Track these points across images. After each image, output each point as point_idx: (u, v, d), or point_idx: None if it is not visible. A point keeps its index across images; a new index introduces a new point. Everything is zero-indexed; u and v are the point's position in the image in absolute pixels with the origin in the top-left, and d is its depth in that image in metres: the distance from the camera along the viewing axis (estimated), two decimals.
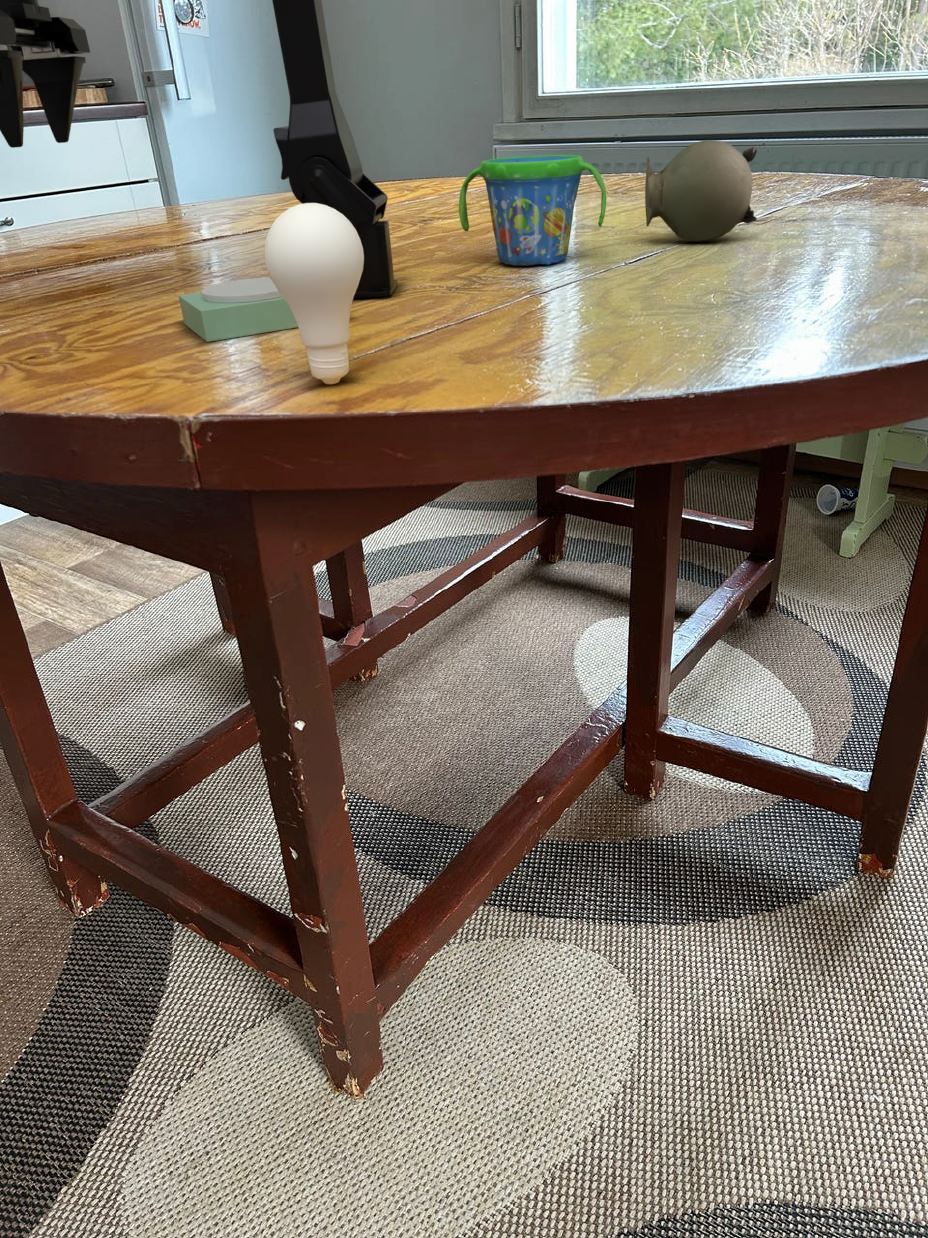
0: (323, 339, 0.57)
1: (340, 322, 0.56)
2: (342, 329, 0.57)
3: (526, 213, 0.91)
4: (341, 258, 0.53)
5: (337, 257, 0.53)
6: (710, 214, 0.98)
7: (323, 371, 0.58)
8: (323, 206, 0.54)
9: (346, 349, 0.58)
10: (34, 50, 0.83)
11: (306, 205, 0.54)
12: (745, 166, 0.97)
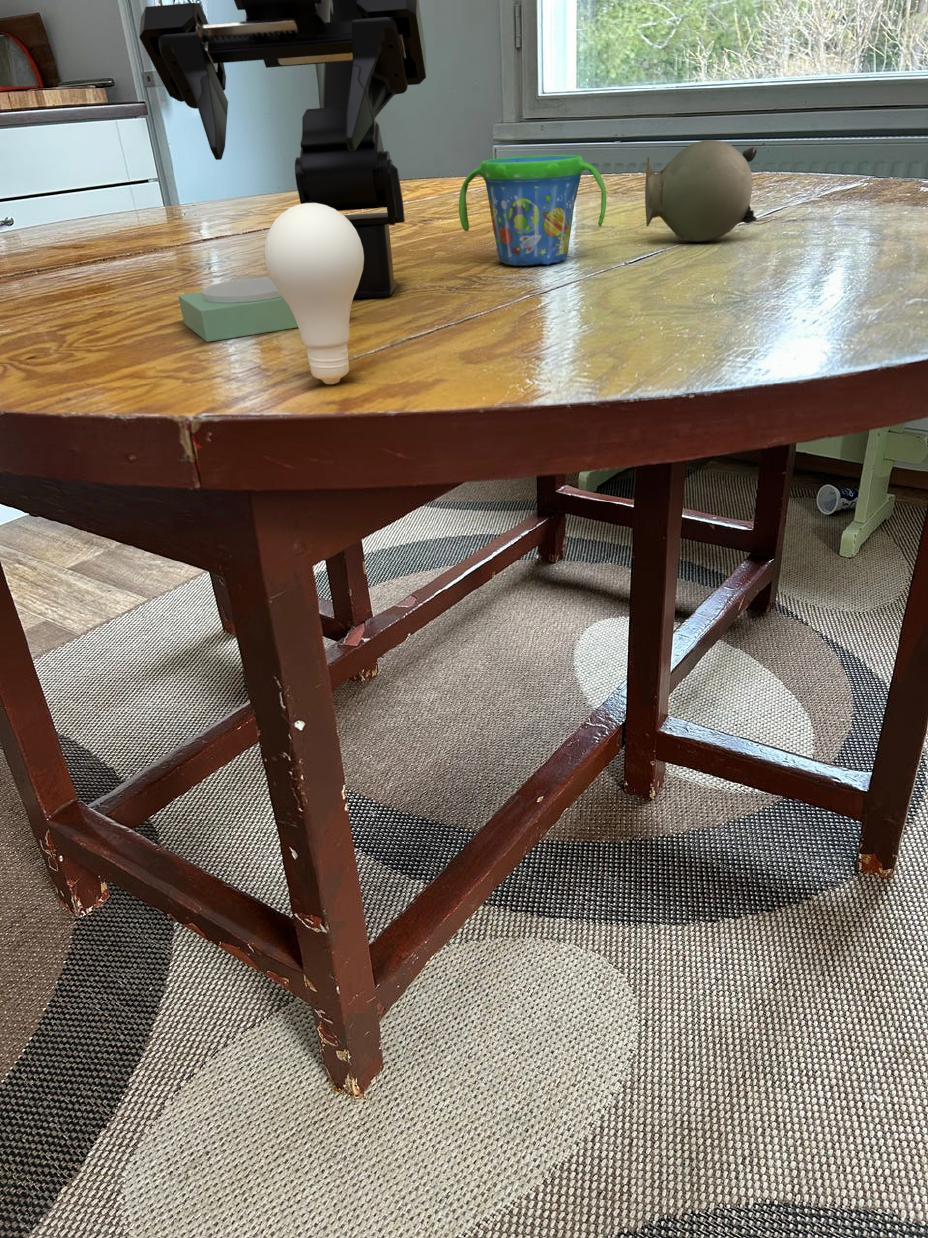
0: (323, 339, 0.57)
1: (340, 322, 0.56)
2: (342, 329, 0.57)
3: (526, 213, 0.91)
4: (341, 258, 0.53)
5: (337, 257, 0.53)
6: (710, 214, 0.98)
7: (323, 371, 0.58)
8: (323, 206, 0.54)
9: (346, 349, 0.58)
10: (208, 51, 0.61)
11: (306, 205, 0.54)
12: (745, 166, 0.97)
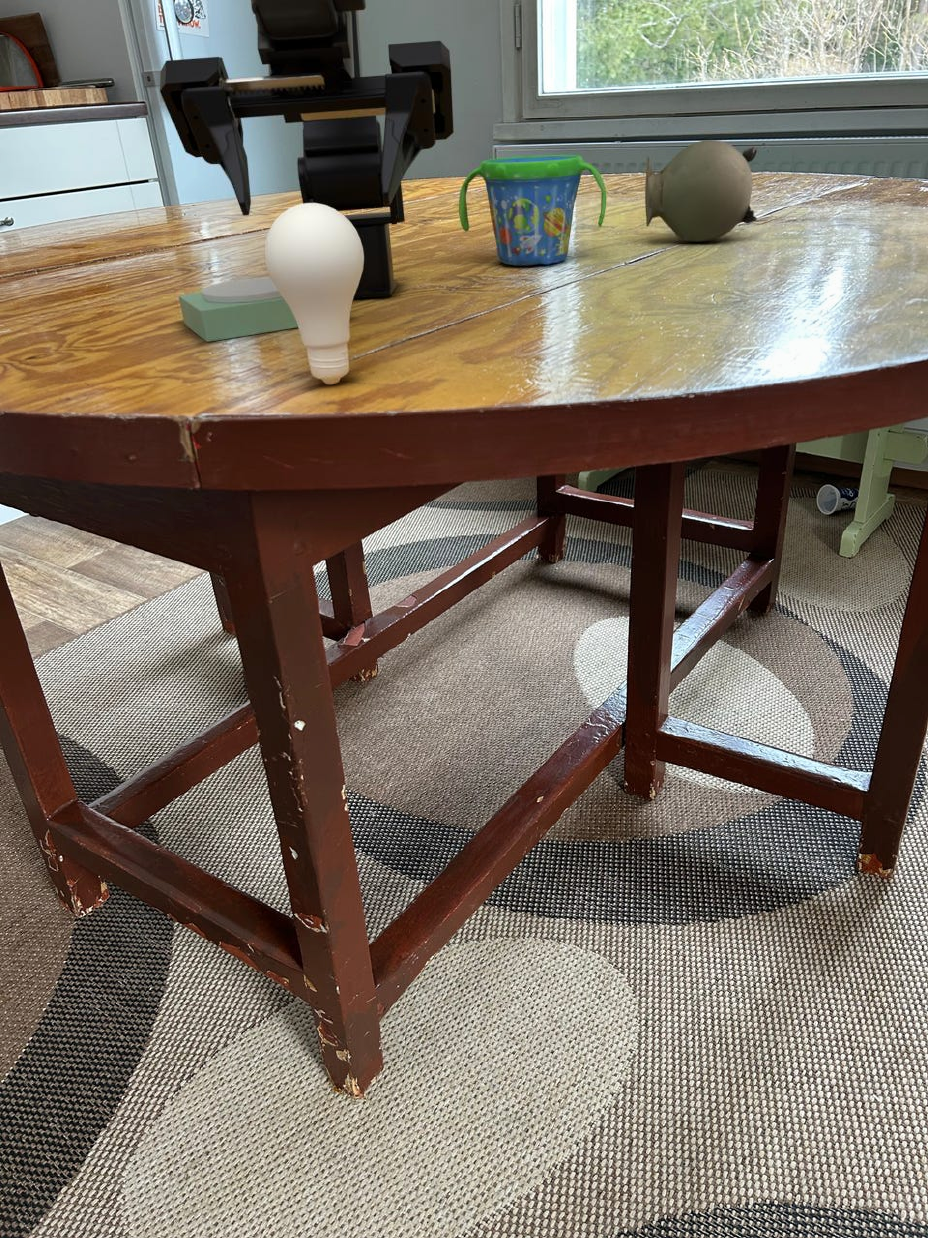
0: (323, 339, 0.57)
1: (340, 322, 0.56)
2: (342, 329, 0.57)
3: (526, 213, 0.91)
4: (341, 258, 0.53)
5: (337, 257, 0.53)
6: (710, 214, 0.98)
7: (323, 371, 0.58)
8: (323, 206, 0.54)
9: (346, 349, 0.58)
10: (231, 106, 0.59)
11: (306, 205, 0.54)
12: (745, 166, 0.97)
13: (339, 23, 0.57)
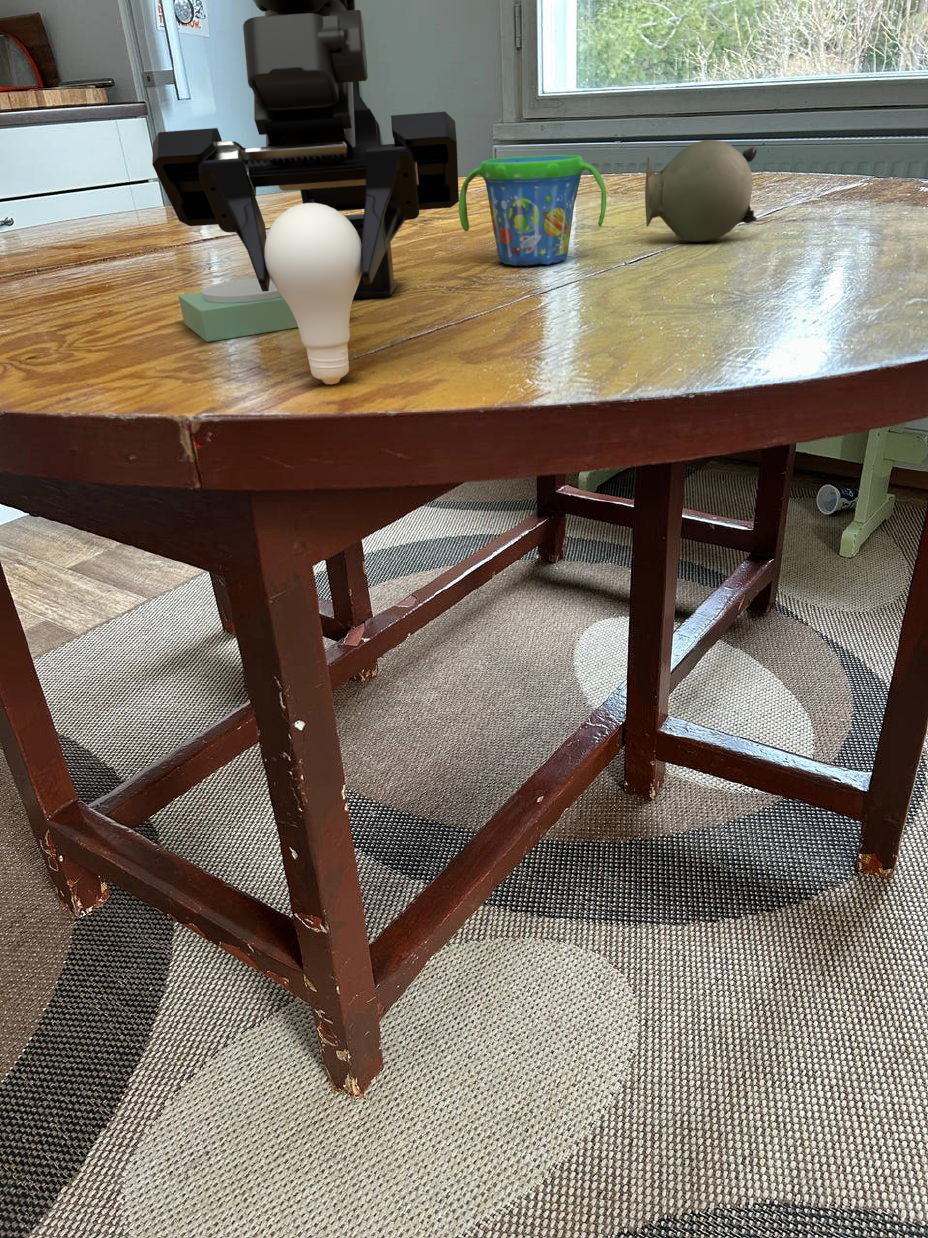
0: (323, 339, 0.57)
1: (340, 322, 0.56)
2: (342, 329, 0.57)
3: (526, 213, 0.91)
4: (341, 258, 0.53)
5: (337, 257, 0.53)
6: (710, 214, 0.98)
7: (323, 371, 0.58)
8: (323, 206, 0.54)
9: (346, 349, 0.58)
10: (249, 175, 0.56)
11: (306, 205, 0.54)
12: (745, 166, 0.97)
13: (340, 93, 0.54)
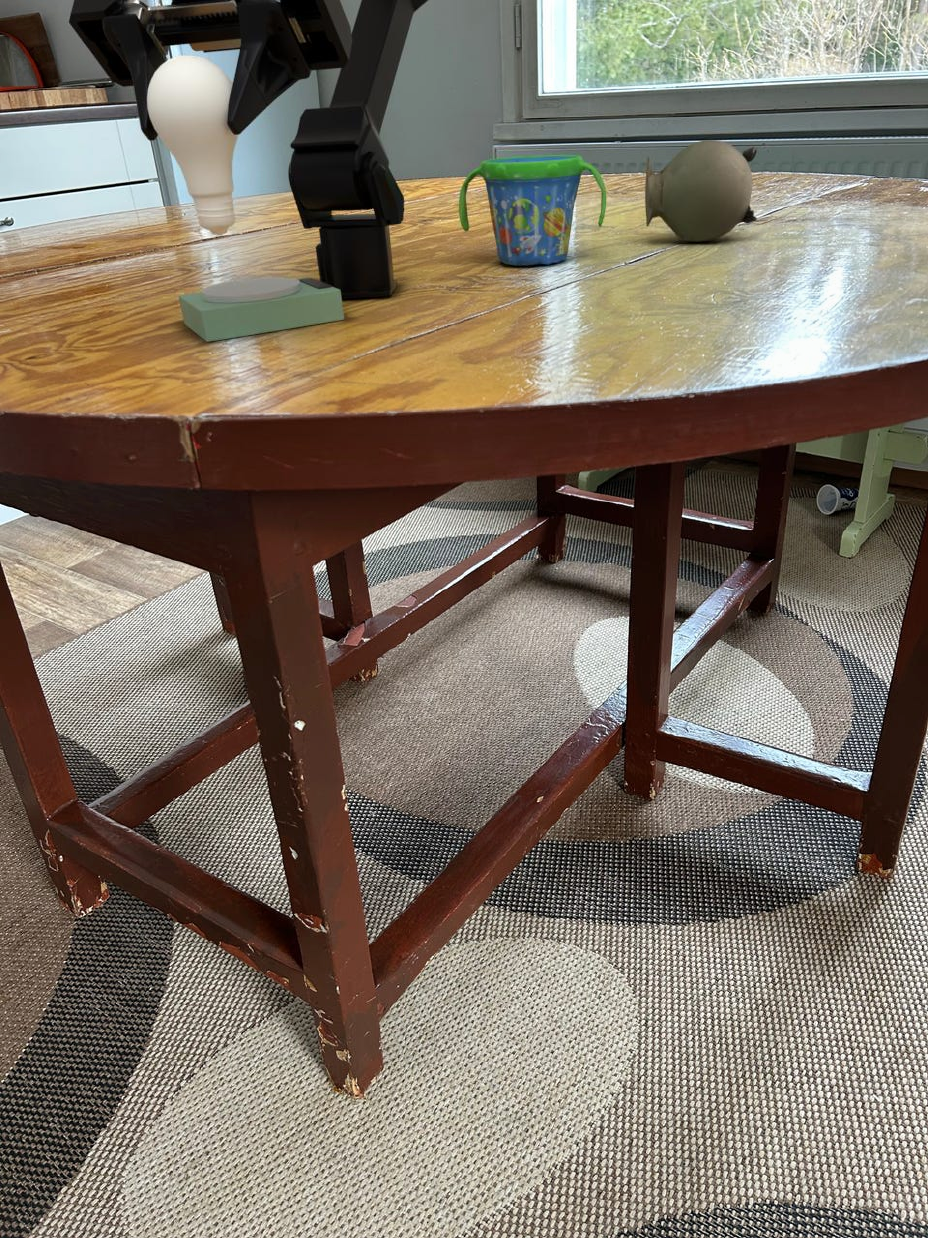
0: (200, 188, 0.61)
1: (215, 172, 0.61)
2: (218, 179, 0.61)
3: (526, 213, 0.91)
4: (202, 105, 0.58)
5: (198, 105, 0.58)
6: (710, 214, 0.98)
7: (205, 220, 0.63)
8: (195, 57, 0.58)
9: (227, 200, 0.63)
10: (154, 33, 0.62)
11: (180, 56, 0.58)
12: (745, 166, 0.97)
13: None
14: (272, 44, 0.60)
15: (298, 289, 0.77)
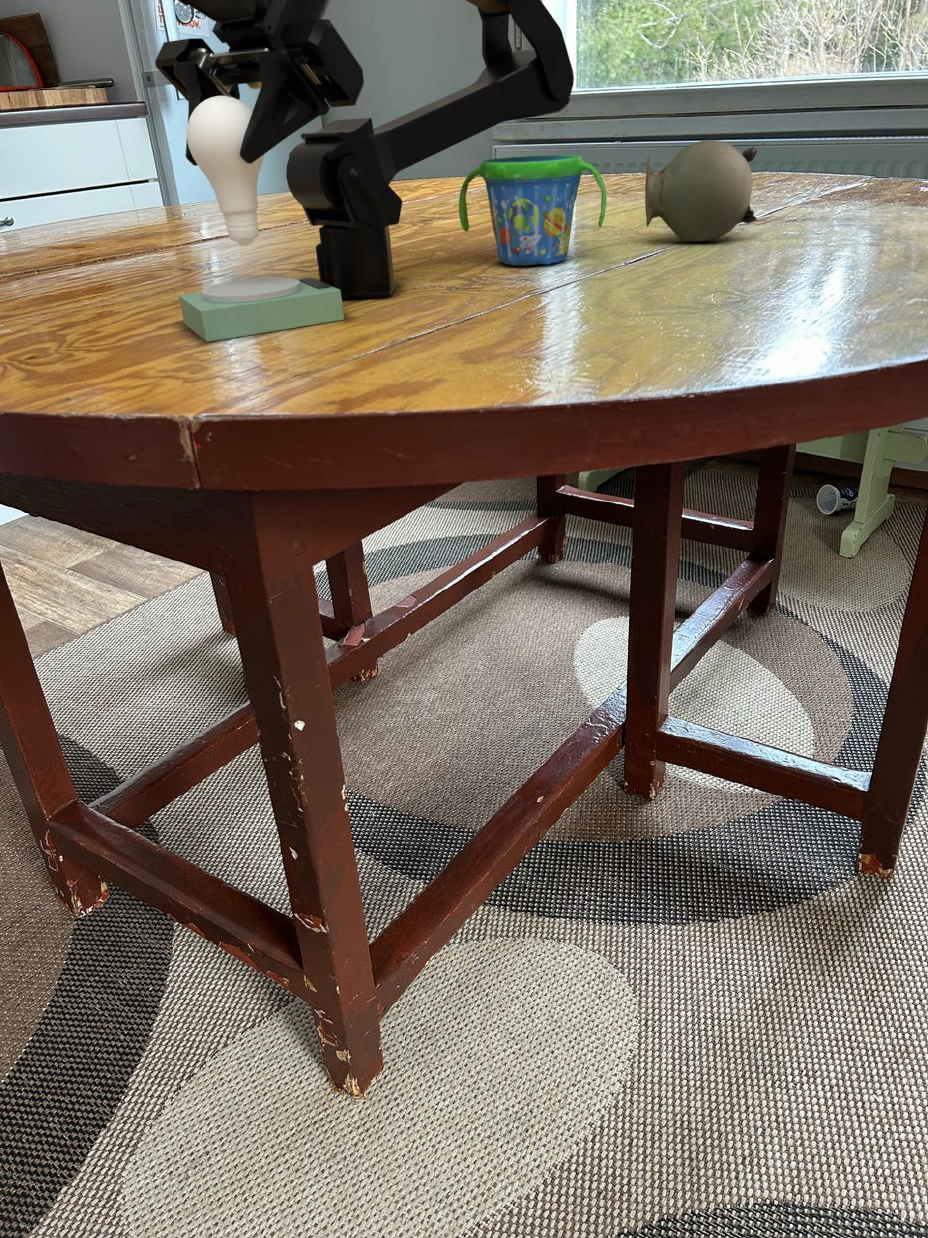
0: (224, 206, 0.73)
1: (235, 194, 0.72)
2: (238, 199, 0.72)
3: (526, 213, 0.91)
4: (219, 139, 0.69)
5: (216, 139, 0.69)
6: (710, 214, 0.98)
7: (230, 233, 0.74)
8: (223, 98, 0.69)
9: (248, 217, 0.74)
10: (215, 75, 0.74)
11: (213, 97, 0.70)
12: (745, 166, 0.97)
13: (260, 7, 0.68)
14: (291, 86, 0.69)
15: (298, 289, 0.77)
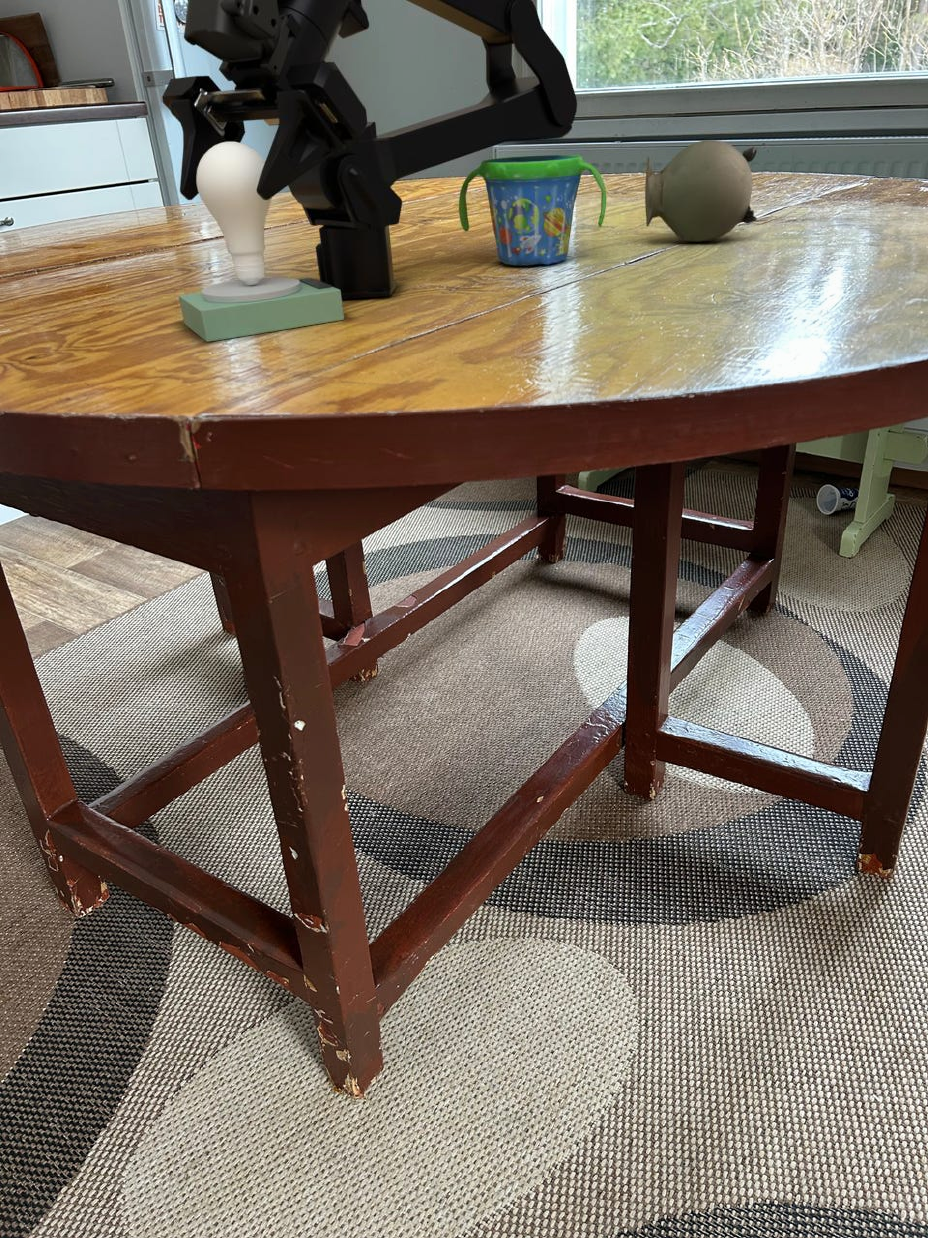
0: (232, 247, 0.75)
1: (243, 236, 0.74)
2: (246, 241, 0.74)
3: (526, 213, 0.91)
4: (228, 184, 0.71)
5: (225, 184, 0.71)
6: (710, 214, 0.98)
7: (237, 273, 0.76)
8: (233, 144, 0.71)
9: (255, 258, 0.75)
10: (210, 113, 0.76)
11: (222, 143, 0.71)
12: (745, 166, 0.97)
13: (266, 48, 0.70)
14: (308, 124, 0.70)
15: (298, 289, 0.77)
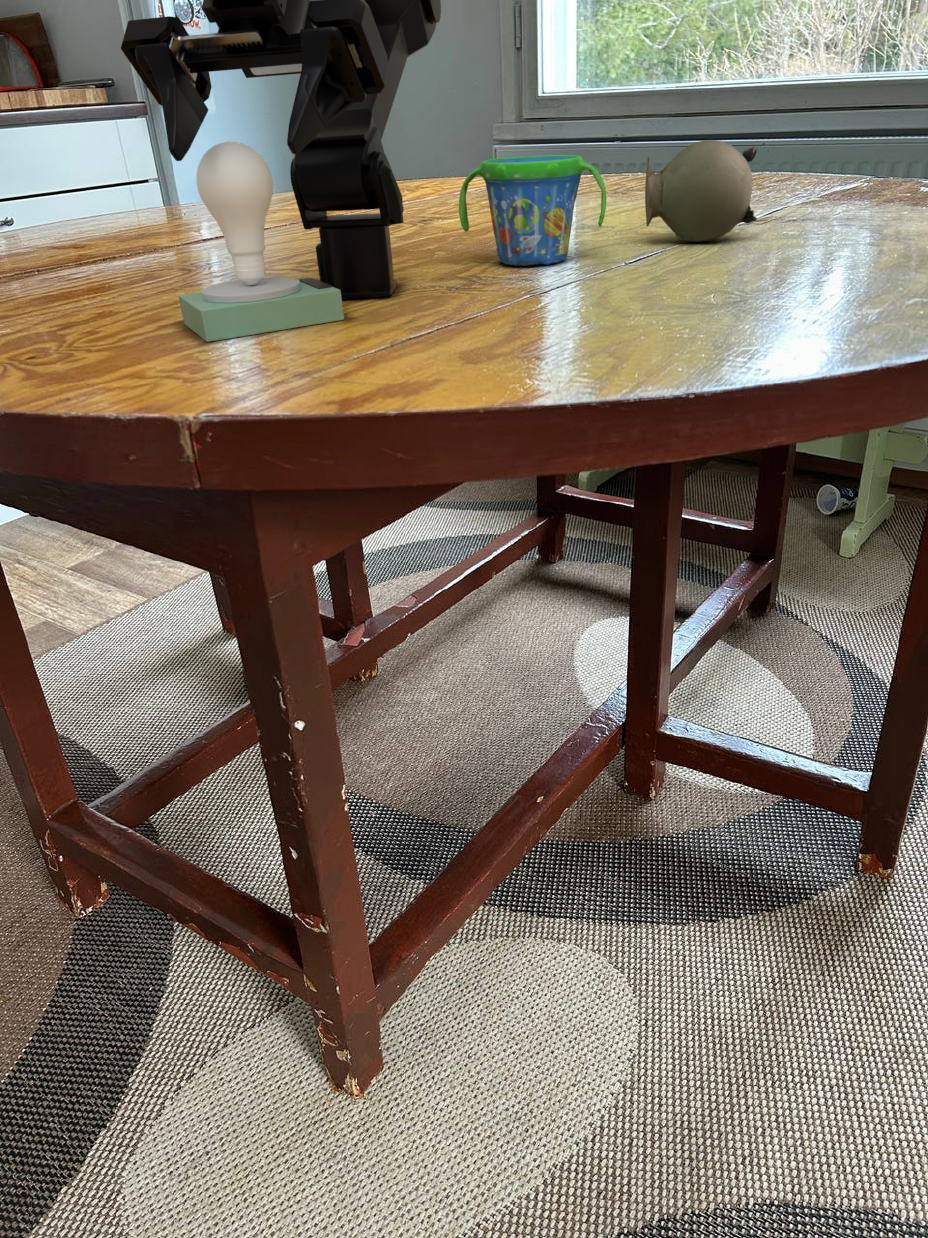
0: (232, 247, 0.75)
1: (243, 236, 0.74)
2: (246, 241, 0.74)
3: (526, 213, 0.91)
4: (228, 184, 0.71)
5: (225, 184, 0.71)
6: (710, 214, 0.98)
7: (237, 273, 0.76)
8: (233, 144, 0.71)
9: (255, 258, 0.75)
10: (183, 61, 0.65)
11: (222, 143, 0.71)
12: (745, 166, 0.97)
13: None
14: (331, 69, 0.63)
15: (298, 289, 0.77)
